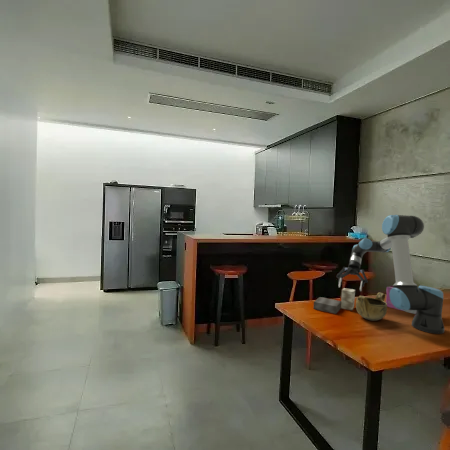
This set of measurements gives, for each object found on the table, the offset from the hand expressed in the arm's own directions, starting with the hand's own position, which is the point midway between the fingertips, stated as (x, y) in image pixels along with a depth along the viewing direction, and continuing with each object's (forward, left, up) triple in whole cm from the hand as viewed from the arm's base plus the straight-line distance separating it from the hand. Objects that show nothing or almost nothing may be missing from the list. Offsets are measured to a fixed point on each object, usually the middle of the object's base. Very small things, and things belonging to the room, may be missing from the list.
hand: (349, 288), depth 202 cm
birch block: (-7, +3, -12) cm, 14 cm away
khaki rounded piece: (-25, -5, -12) cm, 28 cm away
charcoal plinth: (-12, +17, -12) cm, 24 cm away
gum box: (-1, -37, -12) cm, 38 cm away
